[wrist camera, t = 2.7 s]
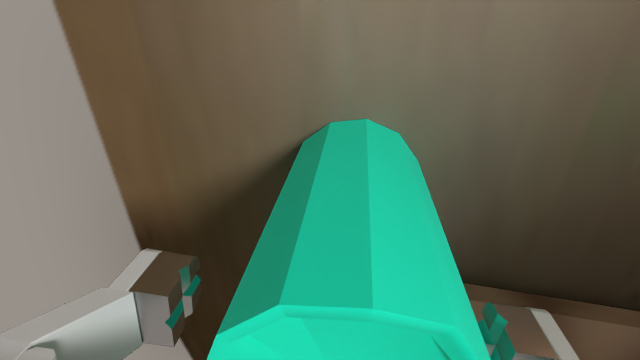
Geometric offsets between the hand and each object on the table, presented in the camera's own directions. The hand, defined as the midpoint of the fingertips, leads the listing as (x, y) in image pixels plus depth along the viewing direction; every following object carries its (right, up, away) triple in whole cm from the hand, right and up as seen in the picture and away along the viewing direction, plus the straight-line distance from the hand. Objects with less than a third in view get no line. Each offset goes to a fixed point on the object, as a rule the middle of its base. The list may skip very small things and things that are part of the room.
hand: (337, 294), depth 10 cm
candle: (+1, +3, +6) cm, 7 cm away
